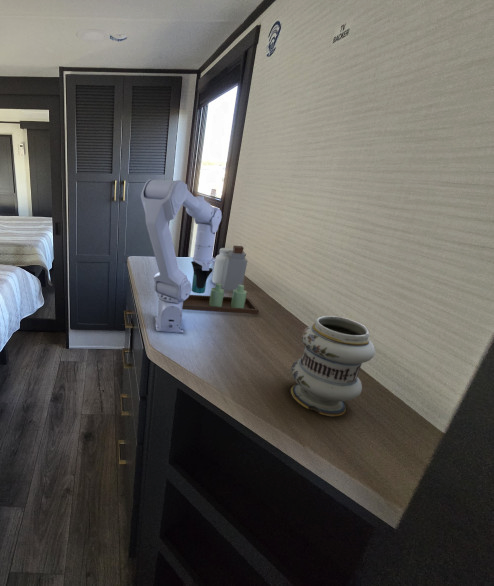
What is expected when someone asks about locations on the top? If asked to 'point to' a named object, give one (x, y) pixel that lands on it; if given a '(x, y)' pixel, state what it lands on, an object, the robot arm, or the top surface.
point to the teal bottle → (194, 286)
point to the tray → (203, 305)
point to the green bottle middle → (216, 296)
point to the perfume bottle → (234, 268)
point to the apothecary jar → (331, 364)
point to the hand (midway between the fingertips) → (198, 285)
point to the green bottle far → (238, 297)
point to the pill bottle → (220, 265)
